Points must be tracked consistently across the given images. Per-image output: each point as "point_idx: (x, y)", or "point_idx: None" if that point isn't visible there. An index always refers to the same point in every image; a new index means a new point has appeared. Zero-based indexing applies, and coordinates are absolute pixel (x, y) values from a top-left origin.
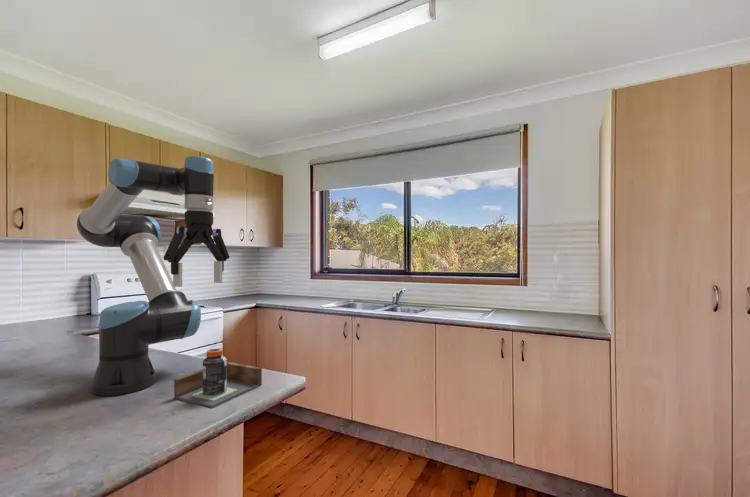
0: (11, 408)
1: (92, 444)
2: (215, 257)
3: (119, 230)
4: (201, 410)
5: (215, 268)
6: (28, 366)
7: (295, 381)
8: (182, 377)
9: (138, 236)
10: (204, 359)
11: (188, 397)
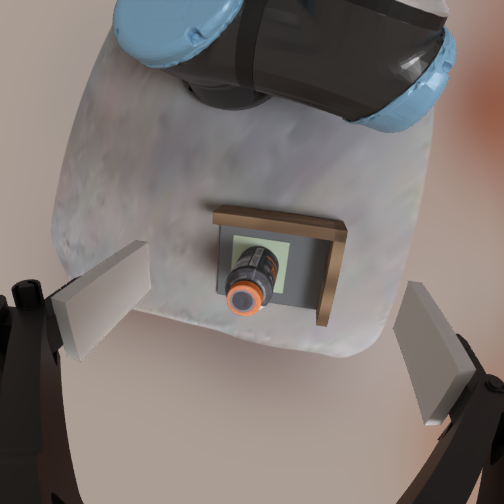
0: None
1: (99, 227)
2: (465, 407)
3: None
4: (206, 281)
5: (431, 346)
6: None
7: (354, 348)
8: (226, 219)
9: None
10: (232, 277)
11: (226, 234)
